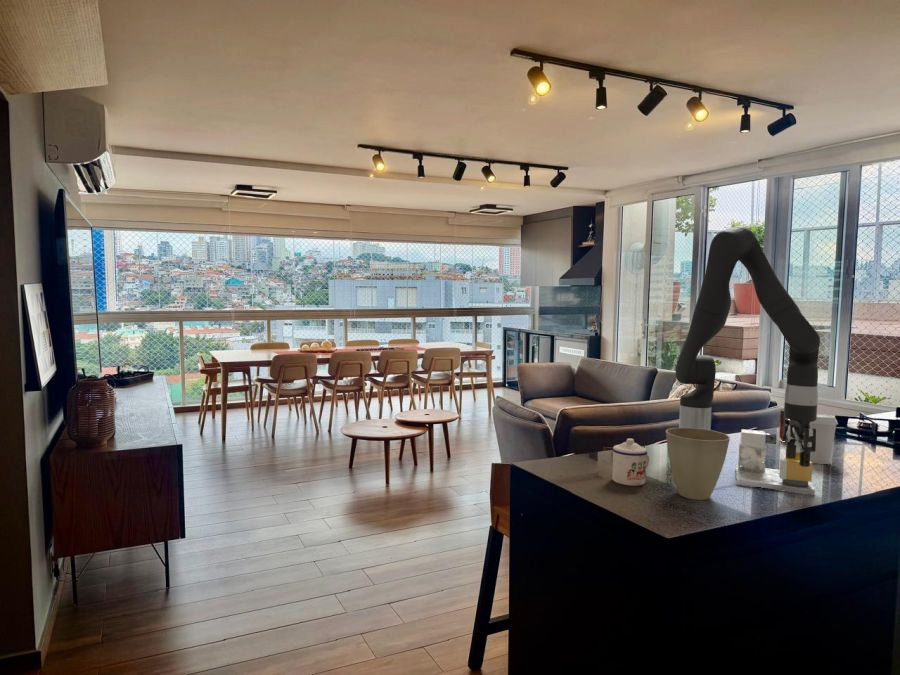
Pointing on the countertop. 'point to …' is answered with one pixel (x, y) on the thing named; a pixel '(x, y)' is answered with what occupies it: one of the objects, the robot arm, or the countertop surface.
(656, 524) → the countertop surface
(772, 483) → the base
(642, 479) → the teacup with lid
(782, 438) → the soda can
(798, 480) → the white-tipped yellow pillar
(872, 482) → the countertop surface
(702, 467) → the plant pot
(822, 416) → the white tapered bin
